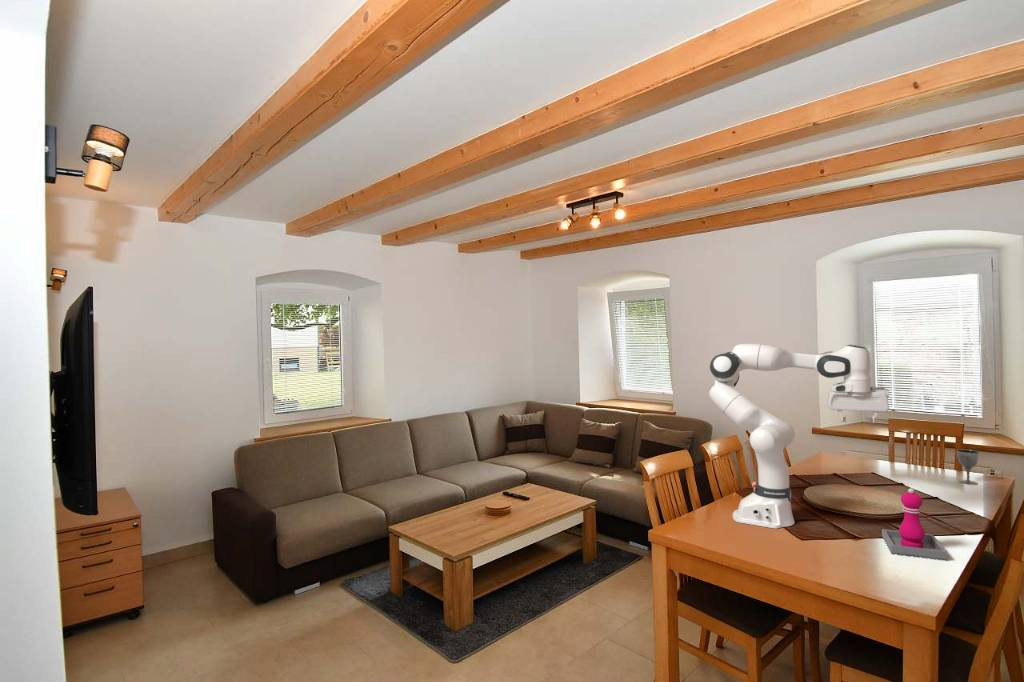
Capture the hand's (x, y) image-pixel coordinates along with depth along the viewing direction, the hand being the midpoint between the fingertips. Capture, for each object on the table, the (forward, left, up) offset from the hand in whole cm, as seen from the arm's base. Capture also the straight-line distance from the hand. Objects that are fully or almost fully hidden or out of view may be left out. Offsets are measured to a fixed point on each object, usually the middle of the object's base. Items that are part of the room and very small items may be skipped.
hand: (857, 422), depth 212 cm
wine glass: (+54, +73, -39) cm, 99 cm away
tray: (+13, -23, -39) cm, 47 cm away
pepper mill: (+12, -23, -39) cm, 47 cm away
